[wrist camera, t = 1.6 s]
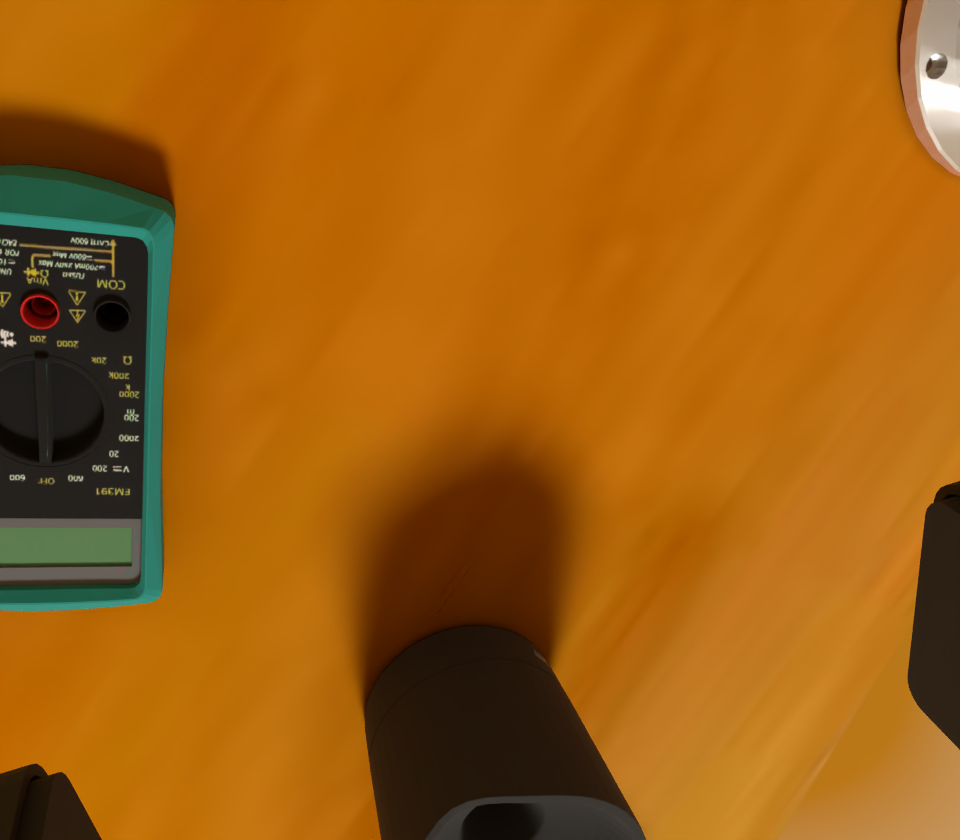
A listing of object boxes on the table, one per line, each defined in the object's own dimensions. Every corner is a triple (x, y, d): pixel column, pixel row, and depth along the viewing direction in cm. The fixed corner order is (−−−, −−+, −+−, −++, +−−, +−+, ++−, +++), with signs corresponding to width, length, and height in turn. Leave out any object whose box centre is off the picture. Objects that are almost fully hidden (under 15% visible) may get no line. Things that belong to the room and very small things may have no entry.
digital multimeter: (178, 178, 28) (174, 198, 26) (164, 571, 34) (160, 619, 32) (-87, 147, 26) (-120, 165, 24) (-53, 572, 32) (-76, 624, 30)
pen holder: (535, 766, 44) (615, 960, 35) (343, 783, 41) (380, 999, 32) (574, 609, 40) (675, 783, 32) (366, 616, 37) (415, 810, 29)
